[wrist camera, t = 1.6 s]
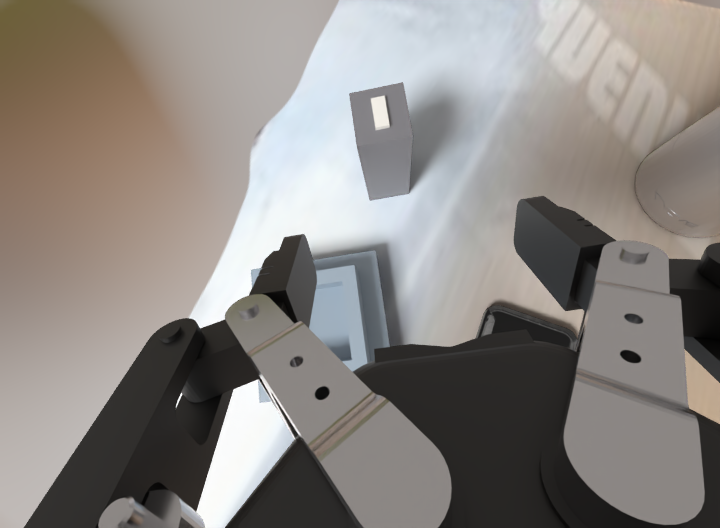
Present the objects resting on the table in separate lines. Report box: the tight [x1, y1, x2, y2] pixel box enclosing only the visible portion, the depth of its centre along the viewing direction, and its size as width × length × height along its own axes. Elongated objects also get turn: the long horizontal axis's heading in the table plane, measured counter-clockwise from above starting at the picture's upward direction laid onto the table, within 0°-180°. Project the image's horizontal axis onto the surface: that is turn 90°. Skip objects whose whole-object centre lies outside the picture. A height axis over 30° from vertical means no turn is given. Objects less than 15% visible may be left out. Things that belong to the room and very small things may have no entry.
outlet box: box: [251, 250, 390, 403], centre depth 28 cm, size 12×12×4 cm
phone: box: [476, 305, 577, 351], centre depth 27 cm, size 8×1×15 cm
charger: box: [349, 82, 413, 200], centre depth 28 cm, size 4×4×10 cm
